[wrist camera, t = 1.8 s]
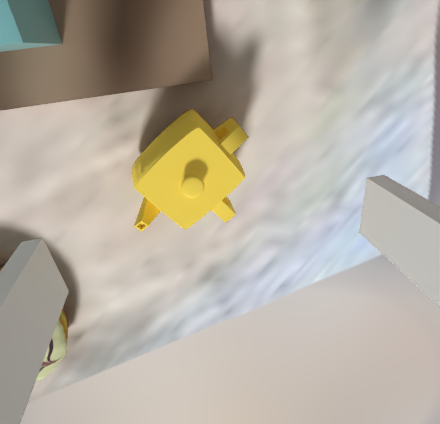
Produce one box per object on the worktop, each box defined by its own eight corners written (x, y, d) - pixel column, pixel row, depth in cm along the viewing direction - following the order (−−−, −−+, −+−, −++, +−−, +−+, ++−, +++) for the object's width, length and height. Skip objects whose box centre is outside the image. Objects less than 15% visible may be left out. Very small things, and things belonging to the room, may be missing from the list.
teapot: (176, 228, 22) (181, 274, 17) (111, 175, 19) (99, 214, 15) (260, 153, 20) (290, 183, 16) (203, 85, 18) (220, 97, 13)
